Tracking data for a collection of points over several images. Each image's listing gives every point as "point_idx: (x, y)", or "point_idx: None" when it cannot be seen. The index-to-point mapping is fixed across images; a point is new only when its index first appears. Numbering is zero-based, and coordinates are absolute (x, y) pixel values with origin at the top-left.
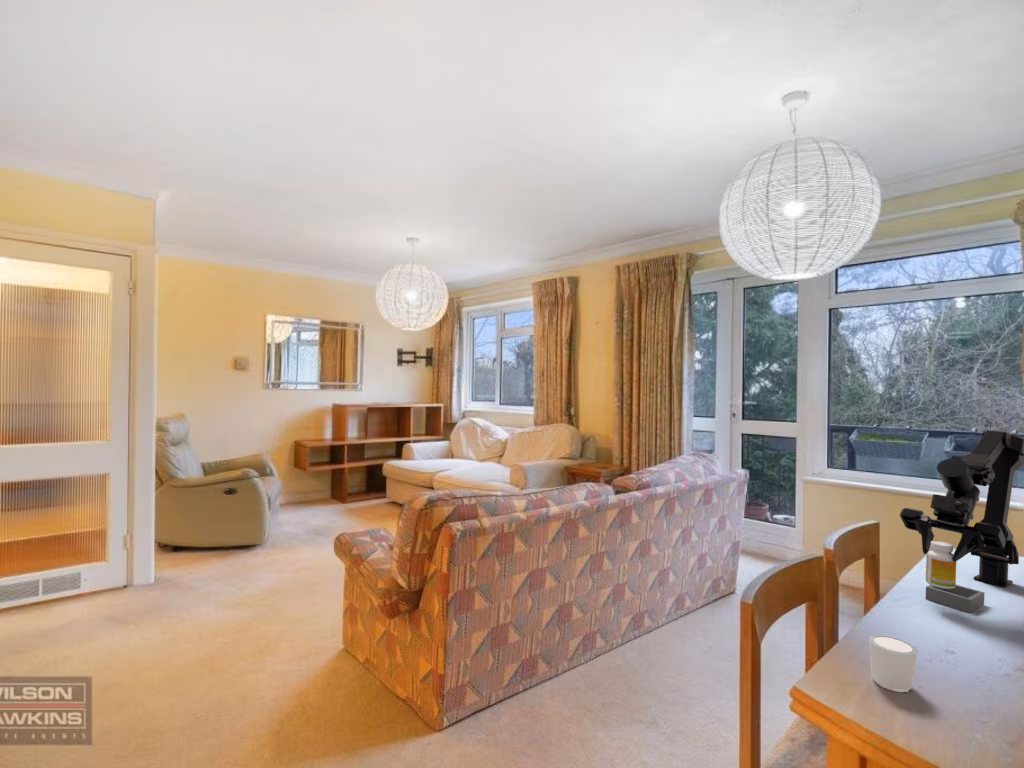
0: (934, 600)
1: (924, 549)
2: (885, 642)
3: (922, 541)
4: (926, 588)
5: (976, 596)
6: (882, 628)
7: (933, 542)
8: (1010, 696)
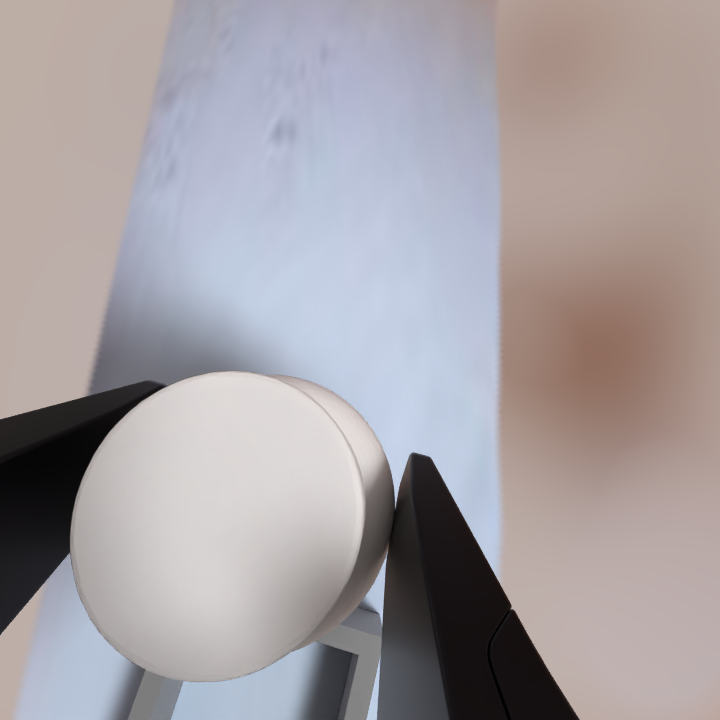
0: None
1: (419, 465)
2: None
3: (474, 546)
4: (380, 633)
5: (143, 683)
6: (451, 157)
7: (326, 460)
8: (180, 9)
